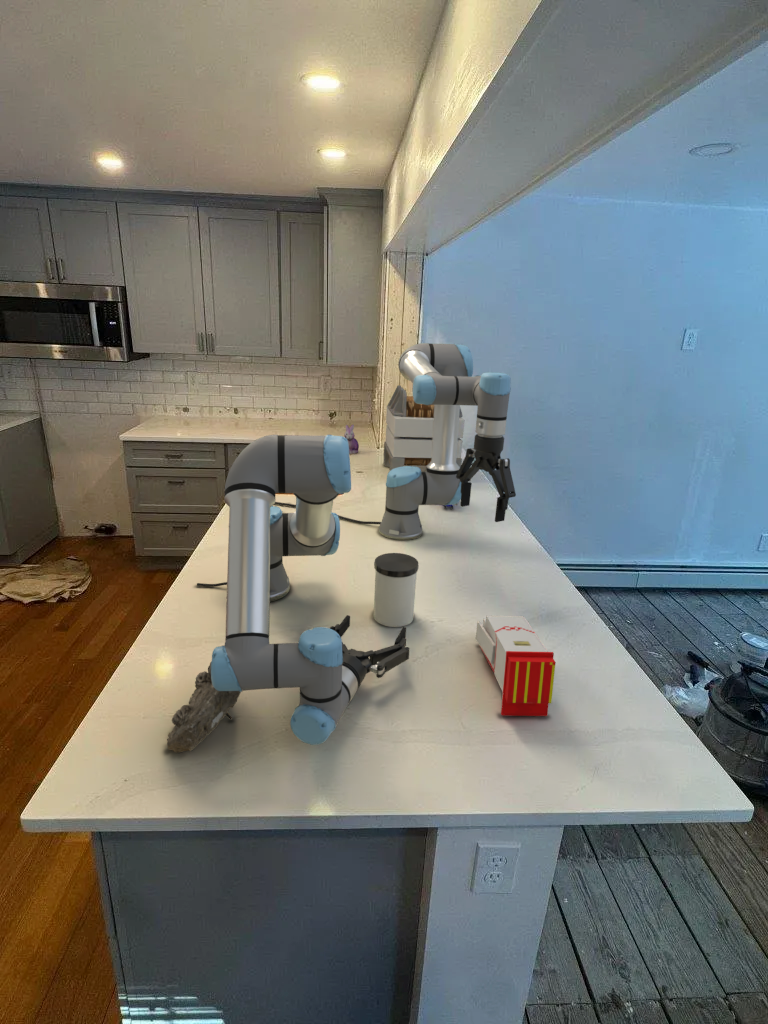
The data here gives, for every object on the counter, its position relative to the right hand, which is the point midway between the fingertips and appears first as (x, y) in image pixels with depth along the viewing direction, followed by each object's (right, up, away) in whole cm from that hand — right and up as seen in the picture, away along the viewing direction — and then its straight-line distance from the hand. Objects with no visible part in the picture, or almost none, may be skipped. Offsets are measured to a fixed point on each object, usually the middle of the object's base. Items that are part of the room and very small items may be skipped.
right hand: (481, 513), depth 152 cm
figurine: (-44, +33, +156) cm, 165 cm away
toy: (+1, -35, -27) cm, 45 cm away
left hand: (-28, -26, -22) cm, 44 cm away
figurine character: (0, +3, +79) cm, 80 cm away
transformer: (-9, +19, +123) cm, 125 cm away
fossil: (-59, -39, -44) cm, 83 cm away
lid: (-23, -12, -11) cm, 28 cm away
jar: (-24, -27, -6) cm, 36 cm away
